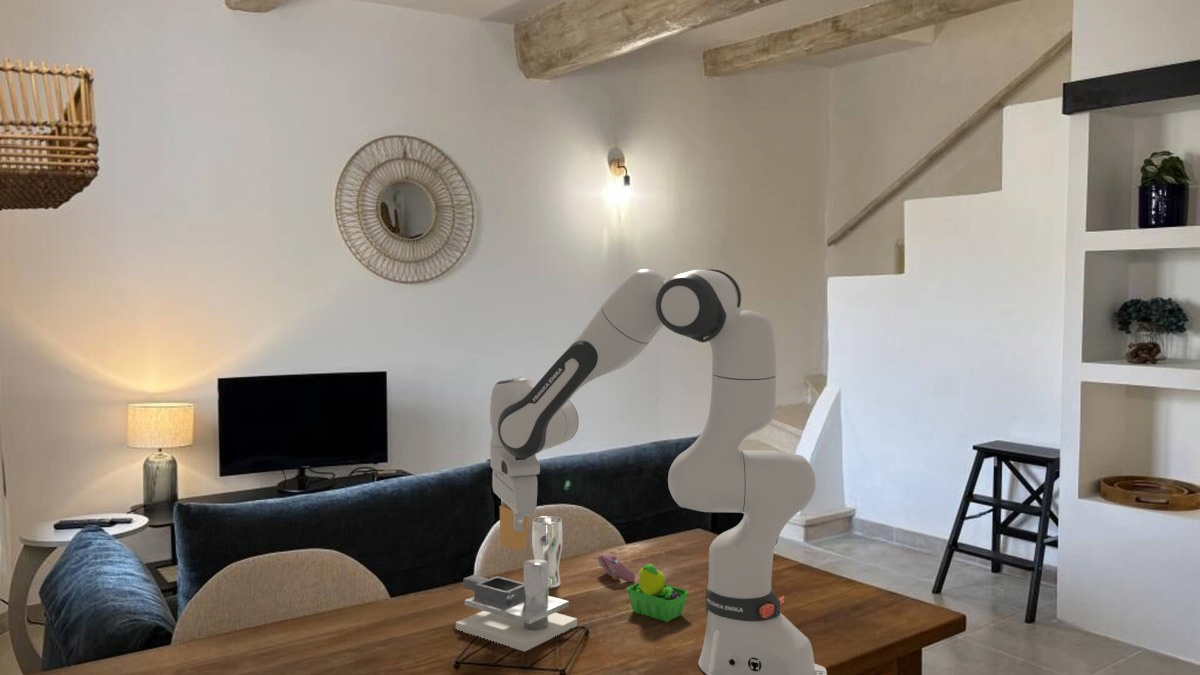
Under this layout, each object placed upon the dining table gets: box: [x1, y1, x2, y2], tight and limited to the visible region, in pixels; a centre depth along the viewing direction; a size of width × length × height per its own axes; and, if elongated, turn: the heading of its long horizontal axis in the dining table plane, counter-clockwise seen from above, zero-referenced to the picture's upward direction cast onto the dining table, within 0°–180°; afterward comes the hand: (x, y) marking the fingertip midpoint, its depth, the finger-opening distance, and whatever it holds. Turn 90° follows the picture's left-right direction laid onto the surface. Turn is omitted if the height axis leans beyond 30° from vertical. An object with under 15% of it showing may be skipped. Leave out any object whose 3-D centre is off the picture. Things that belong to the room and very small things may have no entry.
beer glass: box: [531, 515, 564, 590], centre depth 205 cm, size 7×7×15 cm
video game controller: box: [597, 552, 636, 583], centre depth 210 cm, size 10×5×7 cm, turn 26°
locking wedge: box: [499, 504, 528, 551], centre depth 181 cm, size 5×3×8 cm, turn 41°
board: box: [455, 610, 578, 652], centre depth 179 cm, size 18×16×2 cm
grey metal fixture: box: [462, 559, 570, 631], centre depth 180 cm, size 22×12×12 cm, turn 54°
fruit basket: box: [626, 563, 689, 623], centre depth 186 cm, size 11×9×11 cm
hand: (513, 525), depth 181 cm, fingers closed on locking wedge, 6 cm apart
